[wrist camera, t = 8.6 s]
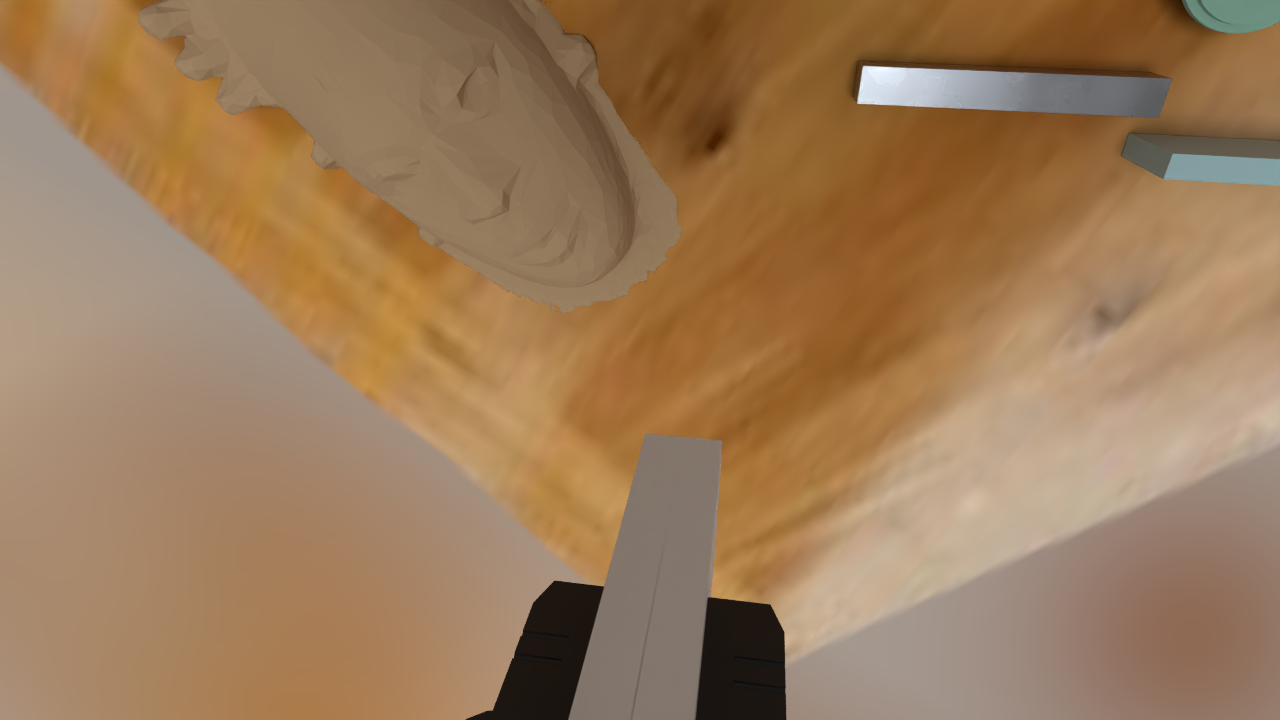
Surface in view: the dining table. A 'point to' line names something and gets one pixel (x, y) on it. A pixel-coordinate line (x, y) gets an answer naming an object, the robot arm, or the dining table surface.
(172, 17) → the mask
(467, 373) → the dining table surface
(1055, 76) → the slot
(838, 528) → the dining table surface
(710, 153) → the dining table surface
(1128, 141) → the bracket
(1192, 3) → the screw
